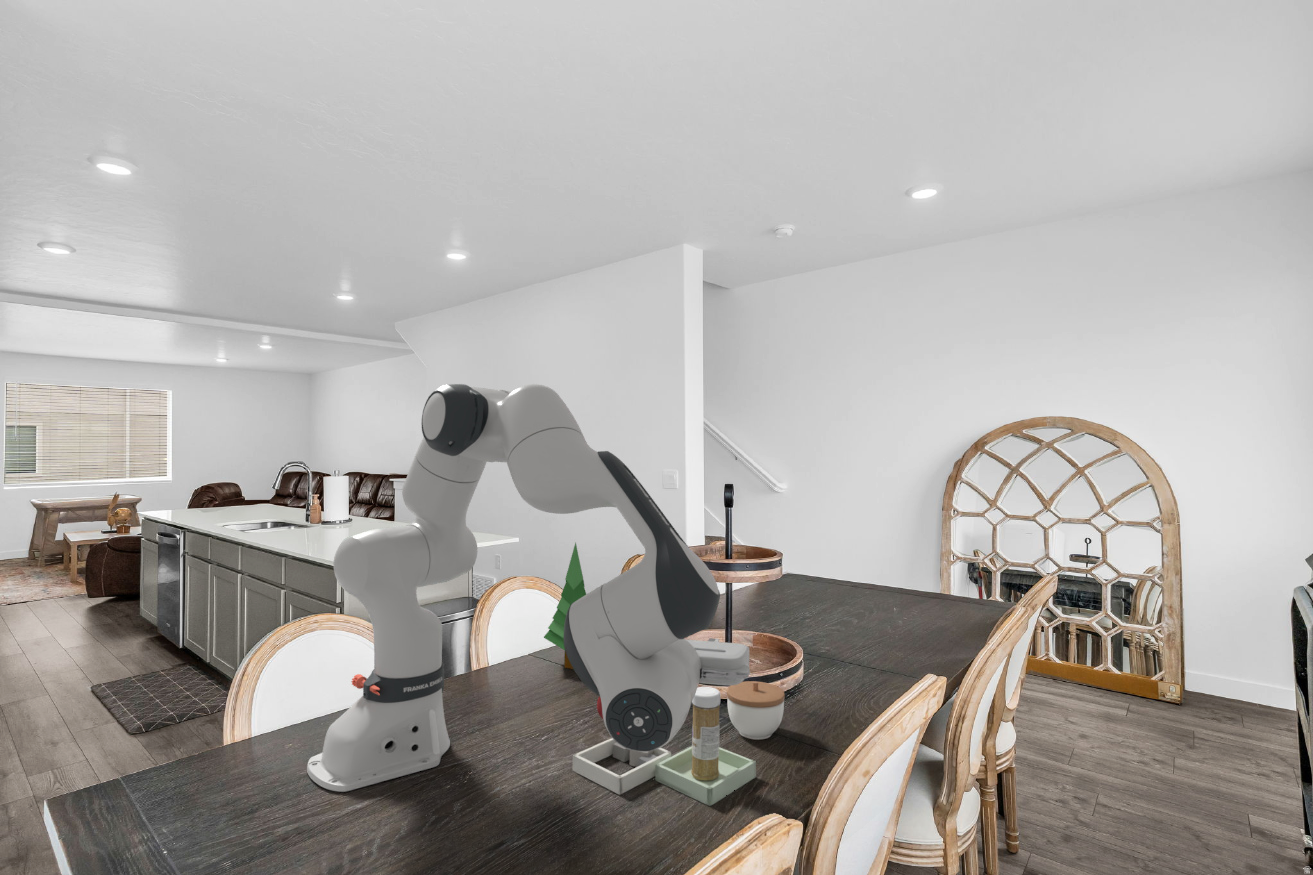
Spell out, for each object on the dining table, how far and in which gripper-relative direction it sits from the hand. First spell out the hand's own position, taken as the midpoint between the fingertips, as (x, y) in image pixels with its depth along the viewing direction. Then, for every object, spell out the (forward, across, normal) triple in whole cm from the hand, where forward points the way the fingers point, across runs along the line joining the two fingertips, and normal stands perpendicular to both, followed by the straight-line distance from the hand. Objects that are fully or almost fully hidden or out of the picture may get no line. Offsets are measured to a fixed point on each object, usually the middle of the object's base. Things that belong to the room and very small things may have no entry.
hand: (682, 641), depth 97 cm
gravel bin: (+11, +11, +25) cm, 29 cm away
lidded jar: (+30, -10, +25) cm, 40 cm away
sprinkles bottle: (+10, -3, +24) cm, 26 cm away
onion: (+28, +17, +25) cm, 41 cm away
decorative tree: (+58, +35, +25) cm, 72 cm away
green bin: (+10, -3, +25) cm, 27 cm away
